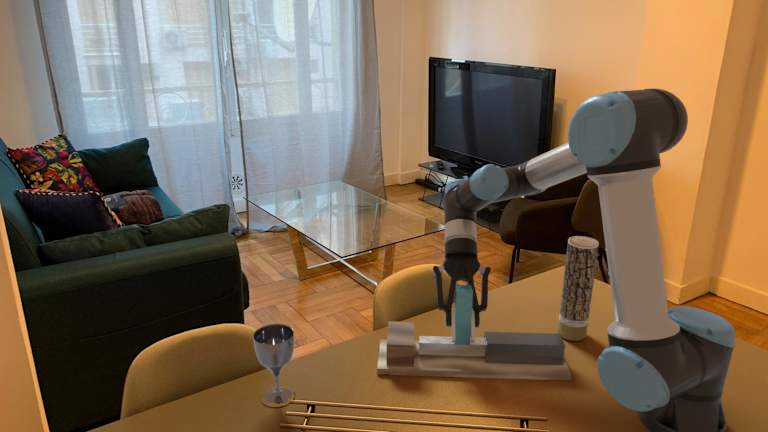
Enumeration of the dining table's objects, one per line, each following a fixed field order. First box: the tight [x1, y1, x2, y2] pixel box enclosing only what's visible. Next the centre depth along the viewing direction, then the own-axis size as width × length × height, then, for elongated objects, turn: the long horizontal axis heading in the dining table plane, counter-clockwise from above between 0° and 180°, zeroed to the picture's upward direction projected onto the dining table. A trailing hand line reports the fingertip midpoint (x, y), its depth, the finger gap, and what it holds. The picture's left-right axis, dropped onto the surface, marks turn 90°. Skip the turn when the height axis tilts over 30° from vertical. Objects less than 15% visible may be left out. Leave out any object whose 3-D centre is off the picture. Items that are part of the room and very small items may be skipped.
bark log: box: [557, 235, 600, 342], centre depth 138 cm, size 7×7×25 cm
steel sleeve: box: [483, 331, 566, 365], centre depth 129 cm, size 5×17×5 cm, turn 87°
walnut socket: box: [386, 321, 415, 367], centre depth 130 cm, size 10×6×6 cm, turn 177°
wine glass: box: [252, 323, 295, 404], centre depth 116 cm, size 8×8×15 cm
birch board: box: [376, 338, 572, 381], centre depth 131 cm, size 12×42×2 cm, turn 87°
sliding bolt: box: [418, 284, 486, 356], centre depth 127 cm, size 4×27×16 cm, turn 87°
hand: (463, 341), depth 125 cm, fingers closed on sliding bolt, 4 cm apart
